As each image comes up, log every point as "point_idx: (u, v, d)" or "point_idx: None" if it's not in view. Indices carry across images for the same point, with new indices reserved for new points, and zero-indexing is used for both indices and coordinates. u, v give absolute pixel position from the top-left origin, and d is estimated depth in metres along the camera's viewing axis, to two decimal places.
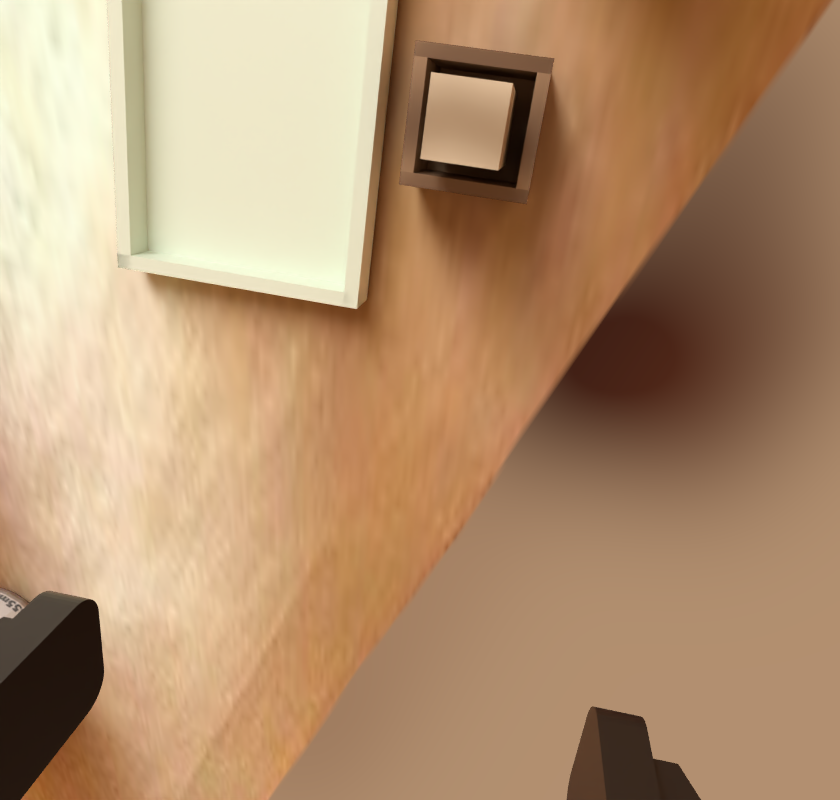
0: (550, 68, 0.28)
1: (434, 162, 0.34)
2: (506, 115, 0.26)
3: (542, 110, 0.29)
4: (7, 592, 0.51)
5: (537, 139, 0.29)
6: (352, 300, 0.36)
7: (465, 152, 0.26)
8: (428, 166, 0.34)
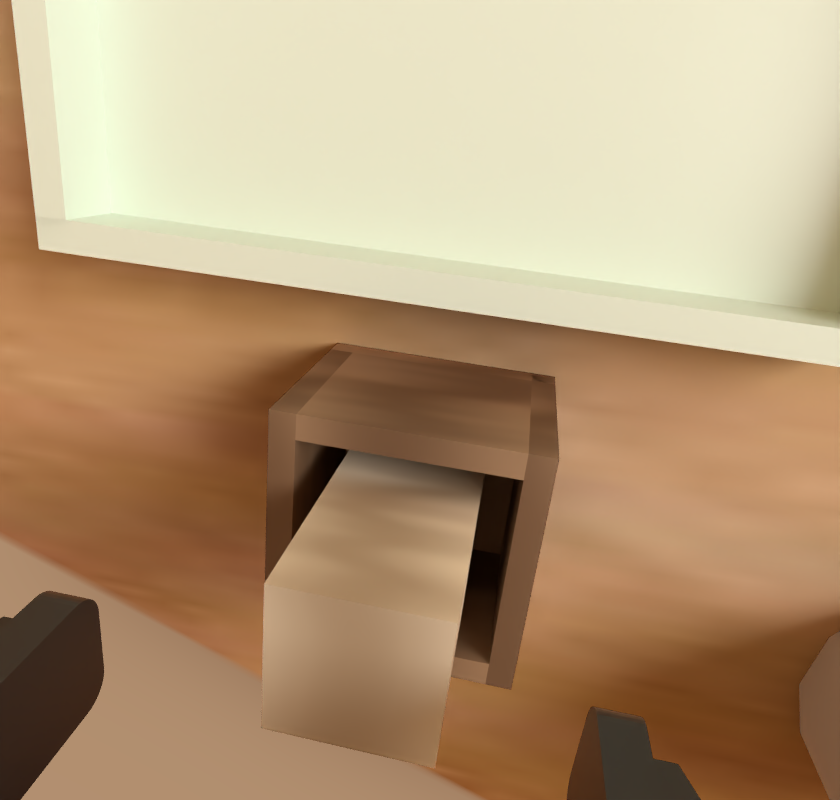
0: (494, 683, 0.15)
1: None
2: (371, 750, 0.12)
3: None
4: None
5: None
6: (53, 239, 0.16)
7: (289, 673, 0.11)
8: None
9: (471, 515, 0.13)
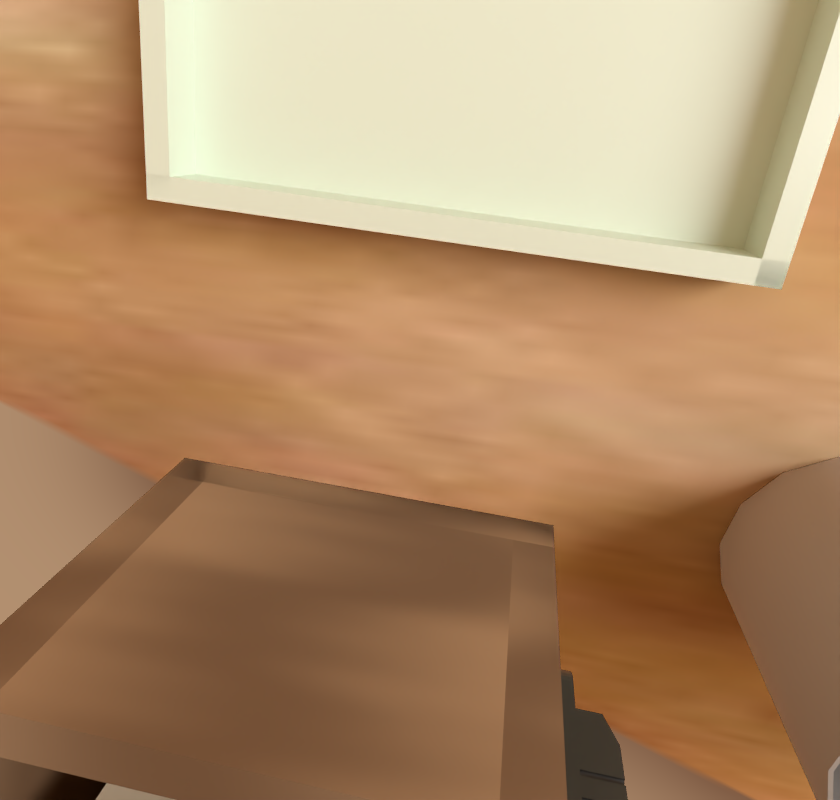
0: None
1: None
2: None
3: None
4: None
5: None
6: (159, 192, 0.21)
7: None
8: None
9: None
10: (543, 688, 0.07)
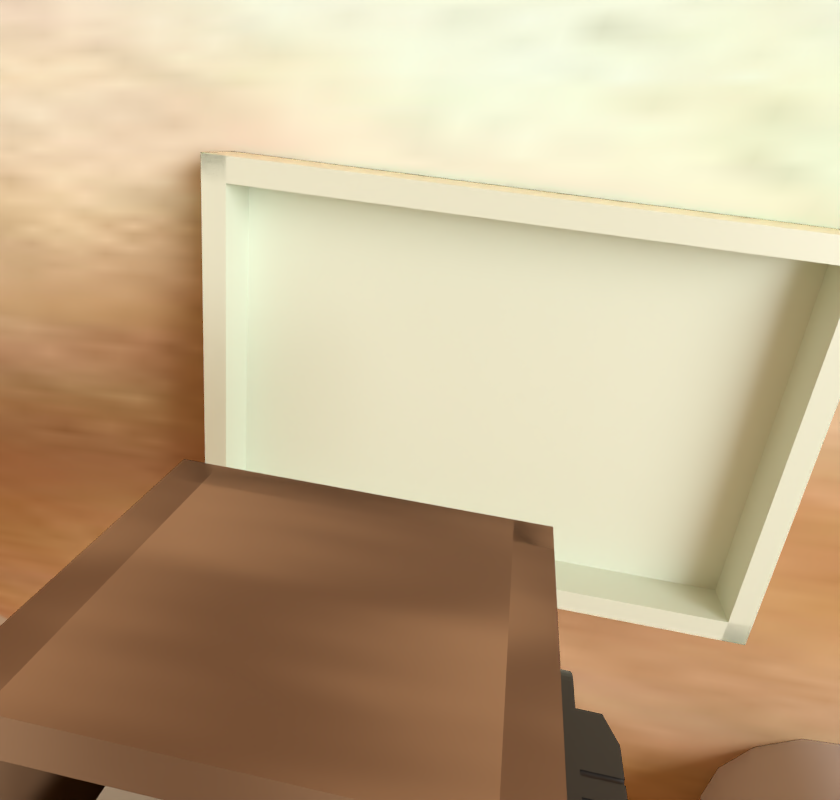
0: None
1: None
2: None
3: None
4: None
5: None
6: None
7: None
8: None
9: None
10: (543, 690, 0.07)
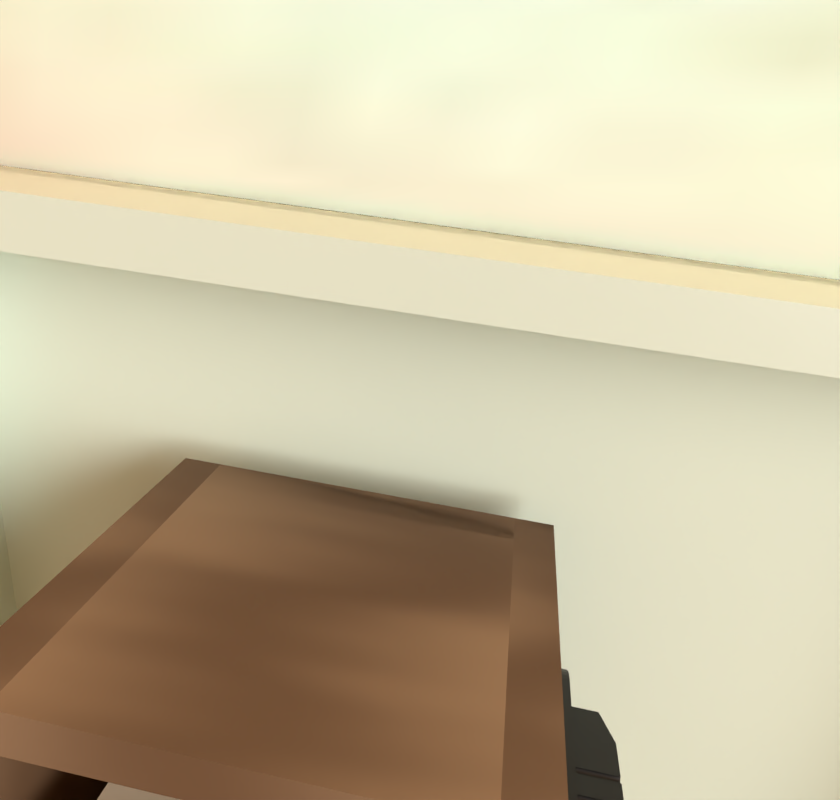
0: None
1: None
2: None
3: None
4: None
5: None
6: None
7: None
8: None
9: None
10: (544, 687, 0.07)
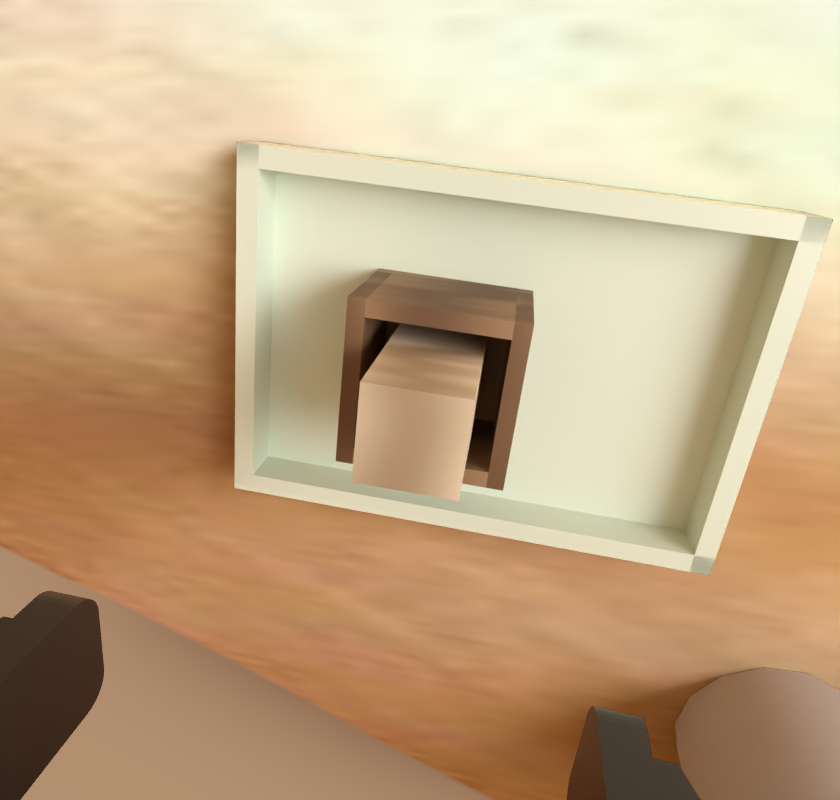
0: (492, 486, 0.23)
1: None
2: (419, 492, 0.19)
3: None
4: None
5: None
6: (244, 483, 0.28)
7: (371, 441, 0.19)
8: None
9: (478, 362, 0.21)
10: (527, 310, 0.22)
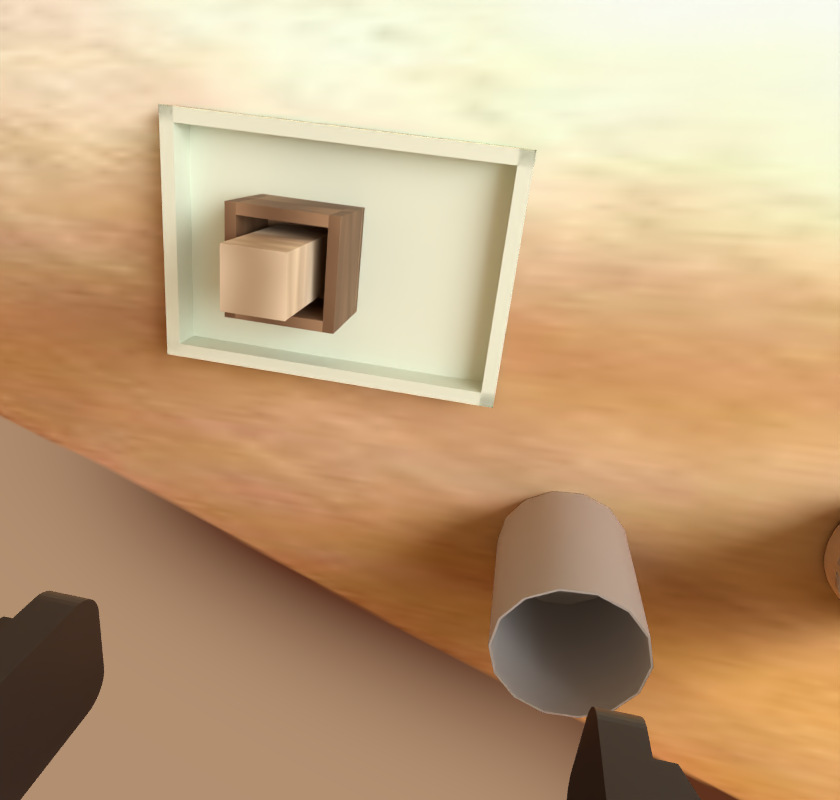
0: (326, 331, 0.34)
1: None
2: (261, 316, 0.31)
3: (295, 326, 0.35)
4: None
5: (274, 323, 0.35)
6: (174, 350, 0.40)
7: (229, 282, 0.30)
8: None
9: (307, 242, 0.33)
10: (345, 213, 0.34)
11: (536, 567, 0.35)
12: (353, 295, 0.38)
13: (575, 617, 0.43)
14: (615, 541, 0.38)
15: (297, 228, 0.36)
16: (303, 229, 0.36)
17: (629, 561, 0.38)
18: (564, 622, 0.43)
